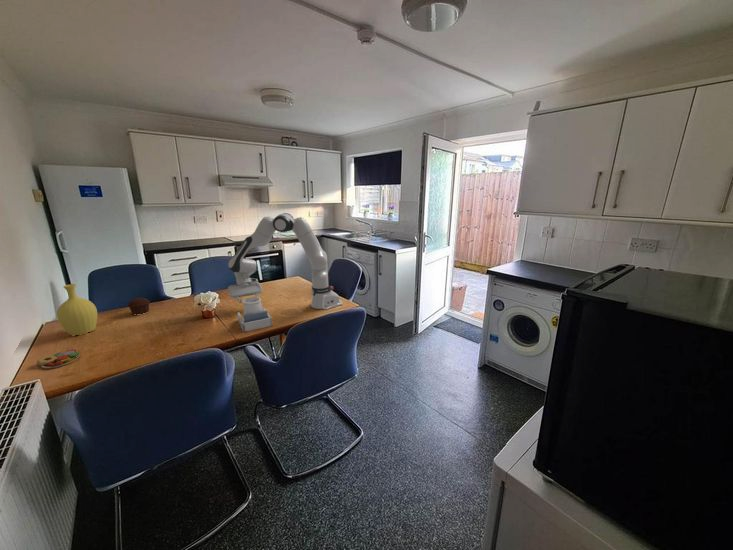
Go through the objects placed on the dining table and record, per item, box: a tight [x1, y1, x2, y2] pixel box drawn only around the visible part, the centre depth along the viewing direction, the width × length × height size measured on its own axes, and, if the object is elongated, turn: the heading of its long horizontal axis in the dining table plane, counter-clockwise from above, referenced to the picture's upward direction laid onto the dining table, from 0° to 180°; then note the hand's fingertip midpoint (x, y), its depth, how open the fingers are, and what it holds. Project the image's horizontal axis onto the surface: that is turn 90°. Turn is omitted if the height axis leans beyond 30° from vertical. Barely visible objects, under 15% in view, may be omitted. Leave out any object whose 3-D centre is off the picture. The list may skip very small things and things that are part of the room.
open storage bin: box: [237, 307, 273, 333], centre depth 178 cm, size 16×19×5 cm
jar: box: [242, 296, 263, 315], centre depth 177 cm, size 11×10×15 cm
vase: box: [56, 283, 98, 336], centre depth 163 cm, size 16×16×28 cm
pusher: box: [242, 309, 268, 323], centre depth 173 cm, size 13×2×8 cm, turn 121°
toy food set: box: [36, 349, 80, 370], centre depth 138 cm, size 13×13×3 cm
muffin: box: [127, 297, 151, 315], centre depth 192 cm, size 12×11×10 cm
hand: (248, 301), depth 192 cm, fingers open, 8 cm apart
